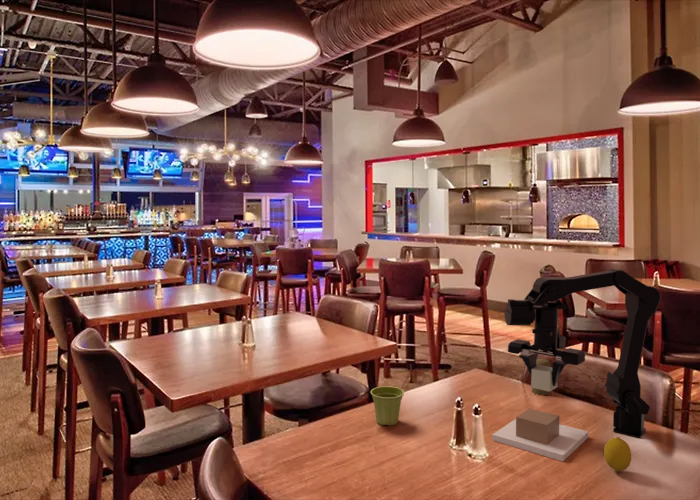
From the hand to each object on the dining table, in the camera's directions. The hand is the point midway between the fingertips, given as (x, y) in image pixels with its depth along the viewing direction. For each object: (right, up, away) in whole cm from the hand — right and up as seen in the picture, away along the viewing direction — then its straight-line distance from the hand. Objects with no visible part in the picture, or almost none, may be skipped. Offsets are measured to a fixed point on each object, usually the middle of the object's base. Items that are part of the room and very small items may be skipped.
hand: (544, 383), depth 141 cm
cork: (+11, -11, +32) cm, 36 cm away
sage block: (0, -1, 0) cm, 1 cm away
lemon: (+9, -15, -21) cm, 27 cm away
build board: (-2, -14, -3) cm, 14 cm away
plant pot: (-41, -13, +9) cm, 44 cm away
